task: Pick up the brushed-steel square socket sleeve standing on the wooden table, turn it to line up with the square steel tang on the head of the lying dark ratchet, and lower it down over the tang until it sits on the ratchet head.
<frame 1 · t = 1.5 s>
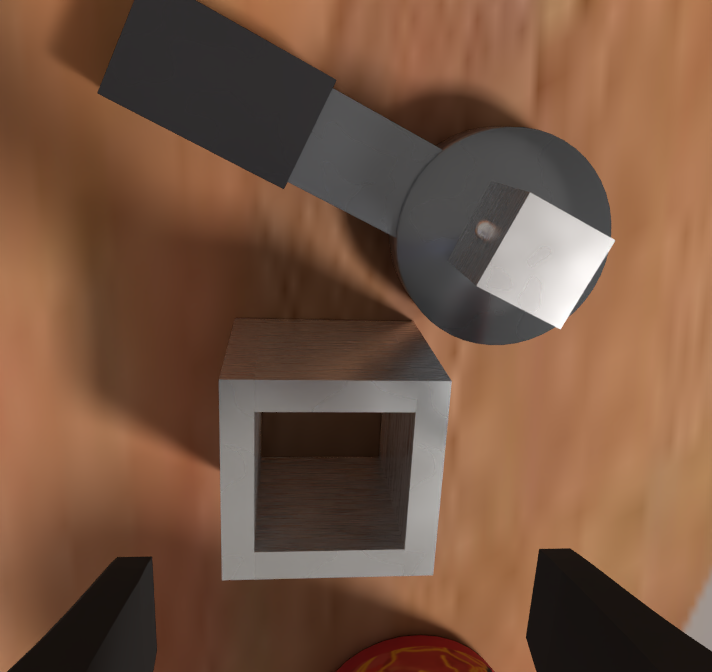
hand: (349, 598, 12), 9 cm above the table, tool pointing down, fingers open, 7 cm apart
socket: (322, 402, 21), on the table
ratchet: (488, 232, 20), on the table
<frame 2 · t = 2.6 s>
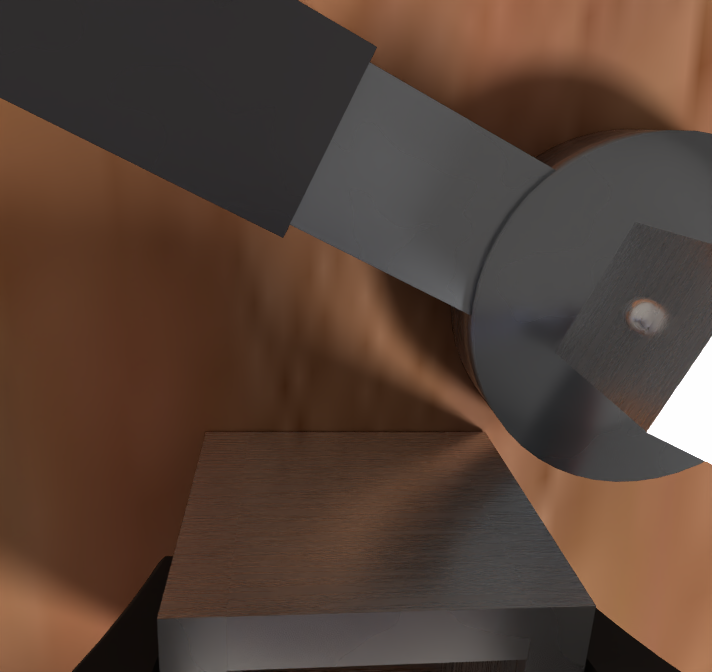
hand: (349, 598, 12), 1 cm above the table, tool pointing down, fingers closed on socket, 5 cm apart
socket: (342, 552, 14), on the table, touching gripper
ratchet: (608, 296, 13), on the table
when the fingers open (4 cm above the table, at t = 6.0 s): socket stays where it is, resting on ratchet.
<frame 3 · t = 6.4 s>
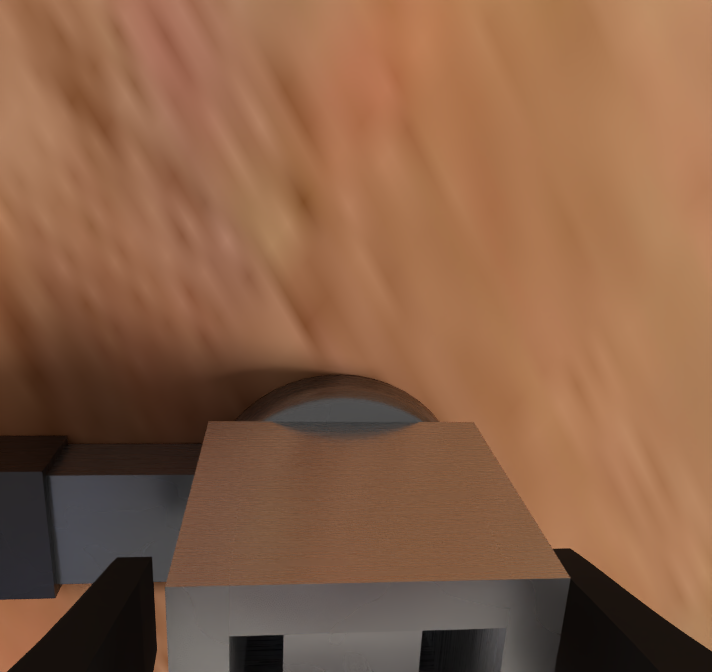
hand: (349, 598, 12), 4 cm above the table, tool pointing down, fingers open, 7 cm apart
socket: (338, 536, 14), point 2 cm above the table, touching ratchet
ratchet: (335, 493, 16), on the table
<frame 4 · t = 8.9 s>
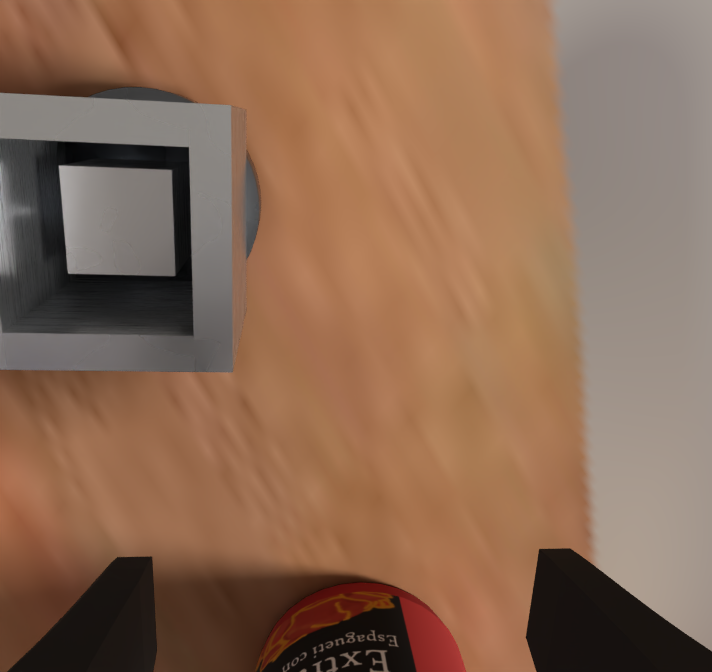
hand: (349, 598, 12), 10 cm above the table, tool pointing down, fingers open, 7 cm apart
socket: (144, 210, 18), point 2 cm above the table, touching ratchet
canned food: (357, 659, 25), on the table
ratchet: (156, 199, 19), on the table
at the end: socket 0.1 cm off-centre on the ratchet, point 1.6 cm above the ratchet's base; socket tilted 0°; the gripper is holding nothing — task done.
